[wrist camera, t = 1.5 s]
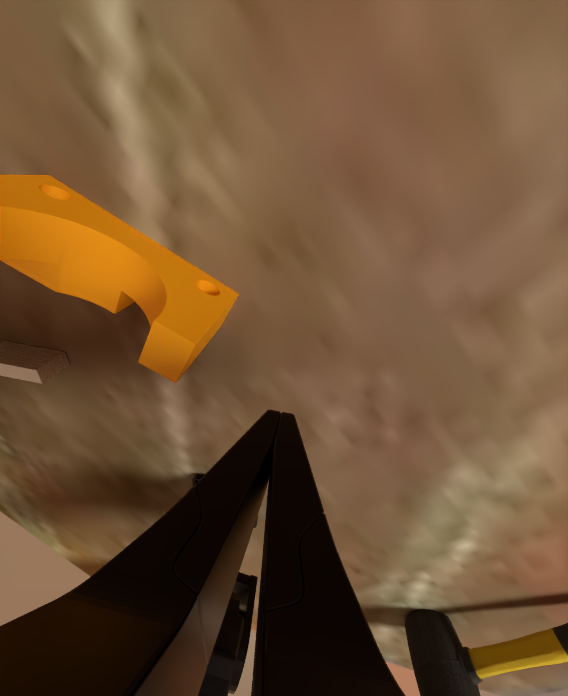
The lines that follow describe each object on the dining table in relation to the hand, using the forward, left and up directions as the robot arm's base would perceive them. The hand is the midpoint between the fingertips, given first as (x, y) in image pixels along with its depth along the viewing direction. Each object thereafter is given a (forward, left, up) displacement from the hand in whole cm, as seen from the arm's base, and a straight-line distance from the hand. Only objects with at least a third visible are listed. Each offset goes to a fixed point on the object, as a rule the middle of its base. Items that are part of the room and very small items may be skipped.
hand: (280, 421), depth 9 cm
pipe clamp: (+1, +11, -10) cm, 15 cm away
